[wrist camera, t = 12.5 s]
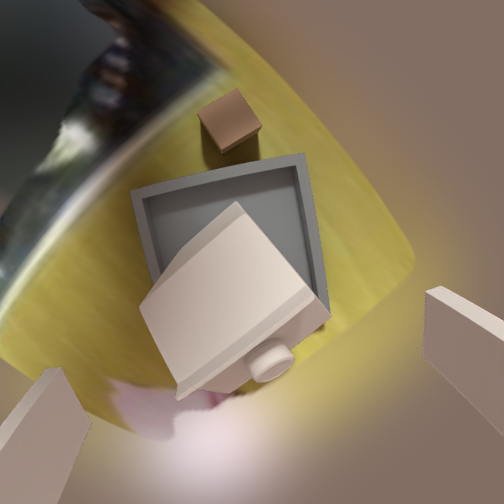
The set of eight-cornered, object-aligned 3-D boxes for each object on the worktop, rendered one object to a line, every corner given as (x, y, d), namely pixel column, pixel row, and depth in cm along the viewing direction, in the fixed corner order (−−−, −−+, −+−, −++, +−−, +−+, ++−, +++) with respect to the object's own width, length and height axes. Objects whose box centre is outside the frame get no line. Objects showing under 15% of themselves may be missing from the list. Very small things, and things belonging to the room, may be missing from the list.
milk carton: (179, 249, 30) (112, 342, 11) (235, 200, 29) (251, 220, 10) (228, 302, 31) (233, 443, 12) (283, 256, 30) (362, 354, 12)
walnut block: (200, 121, 28) (196, 112, 24) (235, 100, 28) (236, 87, 24) (222, 154, 29) (221, 149, 25) (257, 133, 29) (262, 125, 25)
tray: (137, 190, 29) (129, 190, 26) (298, 155, 29) (304, 152, 27) (177, 339, 32) (174, 350, 30) (323, 307, 33) (330, 316, 30)
